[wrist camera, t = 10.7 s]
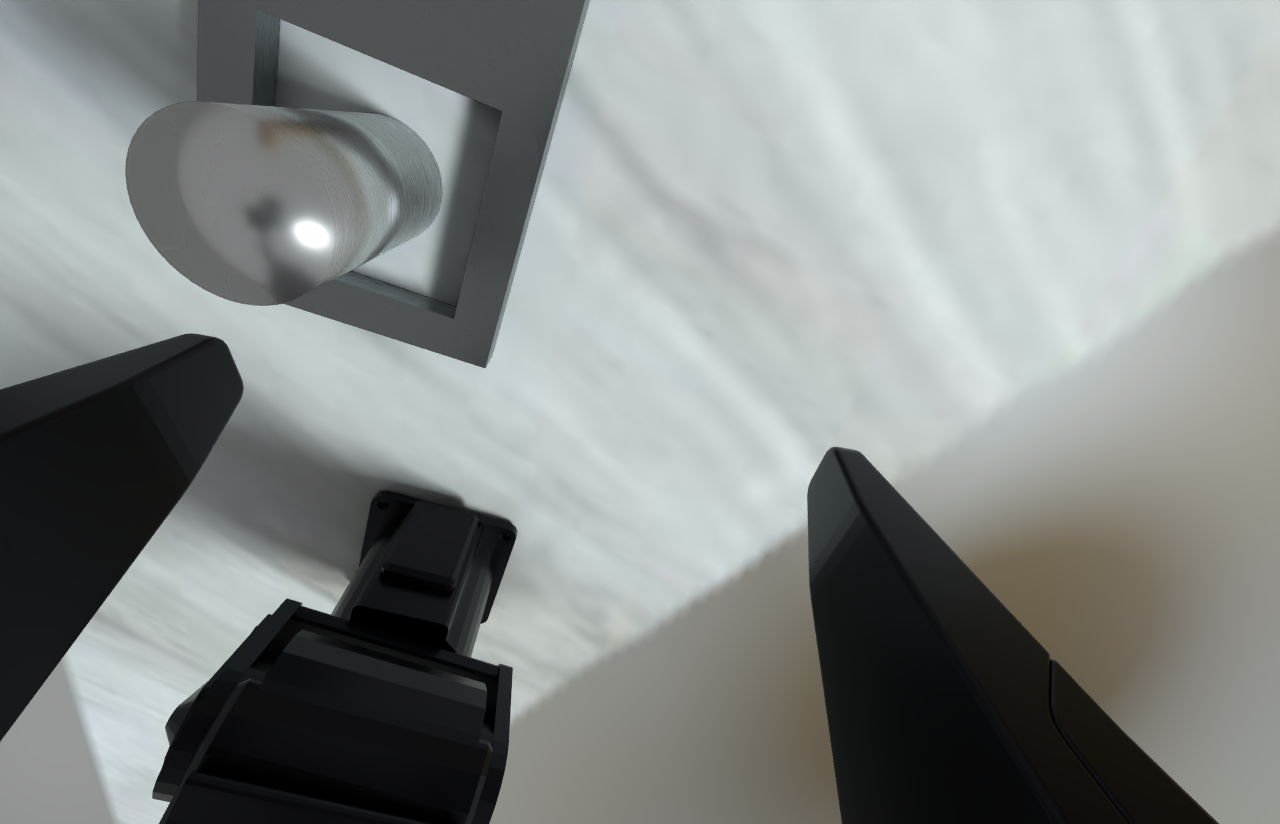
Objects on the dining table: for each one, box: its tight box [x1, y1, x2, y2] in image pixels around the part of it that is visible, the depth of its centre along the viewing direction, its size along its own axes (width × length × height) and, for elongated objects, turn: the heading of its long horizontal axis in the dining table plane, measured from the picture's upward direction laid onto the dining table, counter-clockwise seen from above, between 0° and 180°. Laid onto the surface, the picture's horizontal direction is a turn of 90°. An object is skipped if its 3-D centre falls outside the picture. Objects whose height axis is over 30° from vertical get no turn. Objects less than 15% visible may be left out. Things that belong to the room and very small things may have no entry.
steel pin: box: [126, 101, 442, 306], centre depth 15 cm, size 4×4×8 cm
